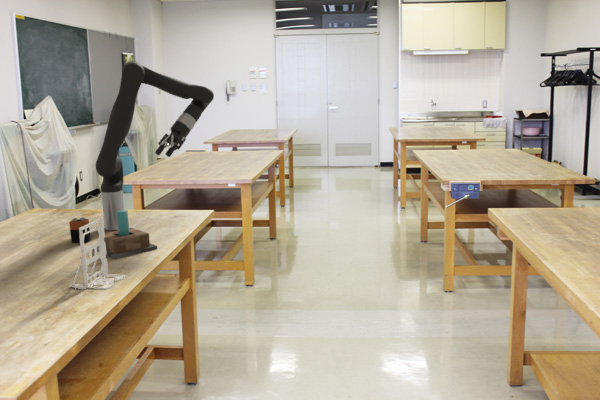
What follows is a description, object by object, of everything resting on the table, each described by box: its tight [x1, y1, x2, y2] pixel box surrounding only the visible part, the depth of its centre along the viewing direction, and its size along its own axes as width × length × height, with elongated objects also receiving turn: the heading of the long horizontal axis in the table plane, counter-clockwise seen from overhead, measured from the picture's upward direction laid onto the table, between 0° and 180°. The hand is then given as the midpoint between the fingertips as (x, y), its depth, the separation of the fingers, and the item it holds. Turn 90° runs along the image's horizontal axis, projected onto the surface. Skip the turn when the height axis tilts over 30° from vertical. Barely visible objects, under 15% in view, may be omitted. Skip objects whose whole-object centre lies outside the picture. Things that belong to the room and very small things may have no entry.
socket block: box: [92, 227, 158, 260], centre depth 229 cm, size 18×18×6 cm
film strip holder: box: [69, 218, 126, 290], centre depth 191 cm, size 14×14×20 cm
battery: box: [68, 217, 92, 244], centre depth 242 cm, size 4×7×10 cm, turn 90°
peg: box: [117, 209, 130, 237], centre depth 229 cm, size 4×4×14 cm
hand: (162, 154), depth 248 cm, fingers open, 8 cm apart
